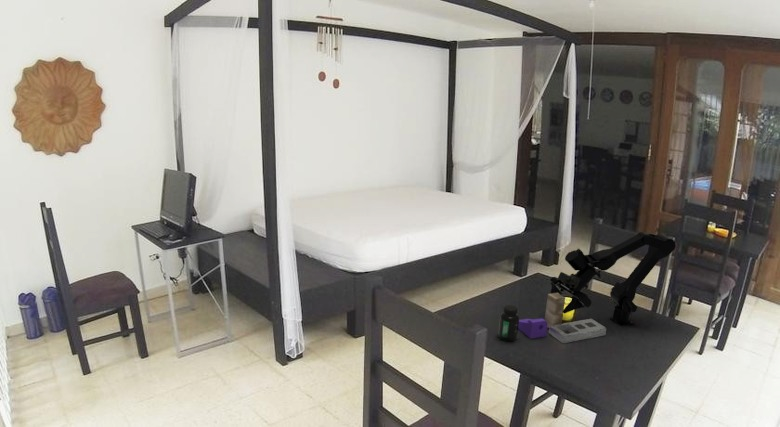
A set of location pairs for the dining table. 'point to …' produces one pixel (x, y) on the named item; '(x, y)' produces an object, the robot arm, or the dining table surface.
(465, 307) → the dining table surface
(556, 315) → the peg
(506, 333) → the supplement bottle
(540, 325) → the bracket
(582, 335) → the grey flat block
